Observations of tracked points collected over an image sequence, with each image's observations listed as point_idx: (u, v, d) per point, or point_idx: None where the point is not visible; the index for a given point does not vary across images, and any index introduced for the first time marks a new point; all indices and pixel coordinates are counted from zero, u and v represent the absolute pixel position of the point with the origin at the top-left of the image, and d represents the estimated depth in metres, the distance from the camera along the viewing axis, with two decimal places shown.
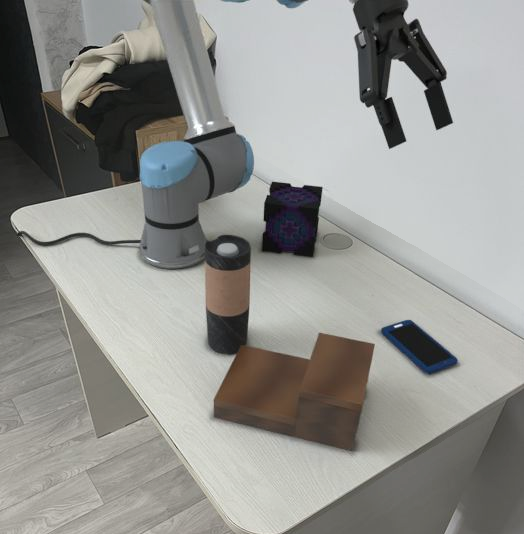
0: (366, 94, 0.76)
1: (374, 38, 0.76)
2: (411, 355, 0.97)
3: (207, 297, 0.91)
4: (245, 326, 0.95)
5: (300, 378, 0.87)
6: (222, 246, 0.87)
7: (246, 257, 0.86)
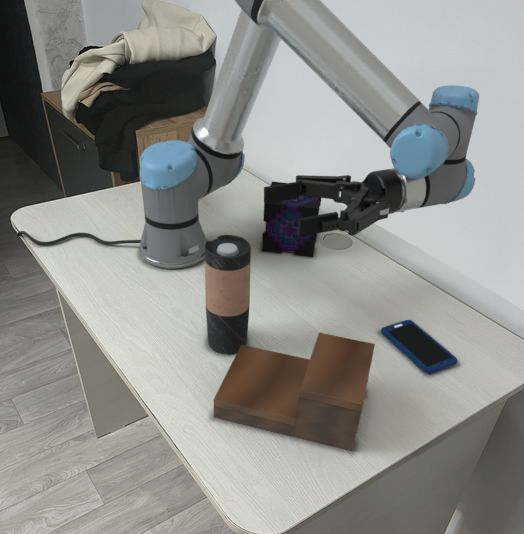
0: (355, 228, 0.83)
1: None
2: (411, 355, 0.97)
3: (207, 297, 0.91)
4: (245, 326, 0.95)
5: (300, 378, 0.87)
6: (222, 246, 0.87)
7: (246, 257, 0.86)
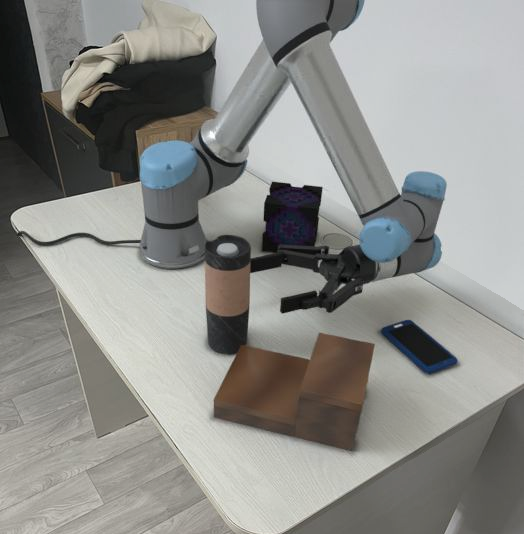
0: (332, 307, 0.91)
1: None
2: (411, 355, 0.97)
3: (207, 297, 0.91)
4: (245, 326, 0.95)
5: (300, 378, 0.87)
6: (222, 246, 0.87)
7: (246, 257, 0.86)
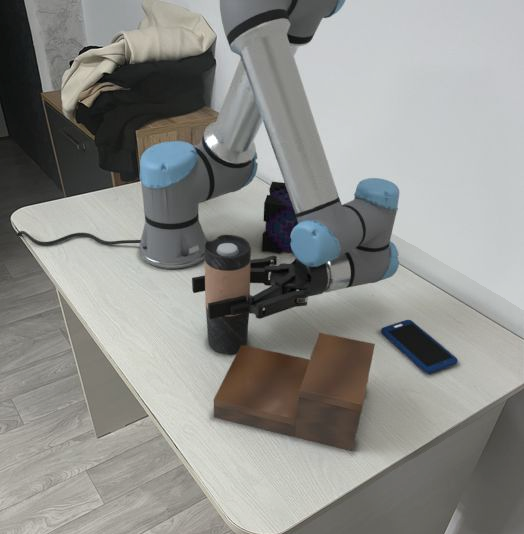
0: (260, 312, 0.88)
1: None
2: (411, 355, 0.97)
3: (207, 297, 0.91)
4: (245, 326, 0.95)
5: (300, 378, 0.87)
6: (222, 246, 0.87)
7: (246, 257, 0.86)
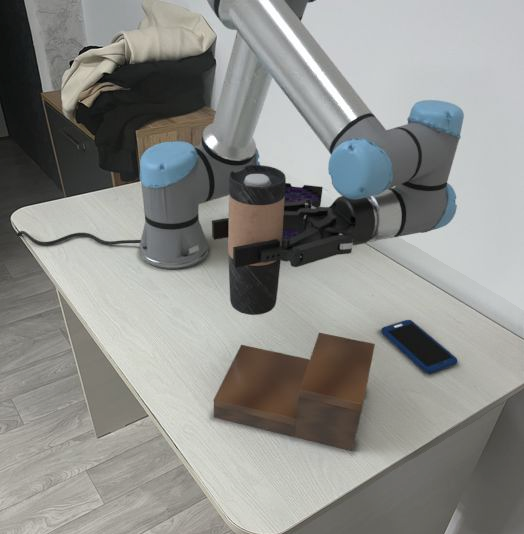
0: (297, 259, 0.72)
1: None
2: (411, 355, 0.97)
3: (231, 242, 0.74)
4: (276, 280, 0.79)
5: (300, 378, 0.87)
6: (250, 176, 0.71)
7: (281, 189, 0.70)
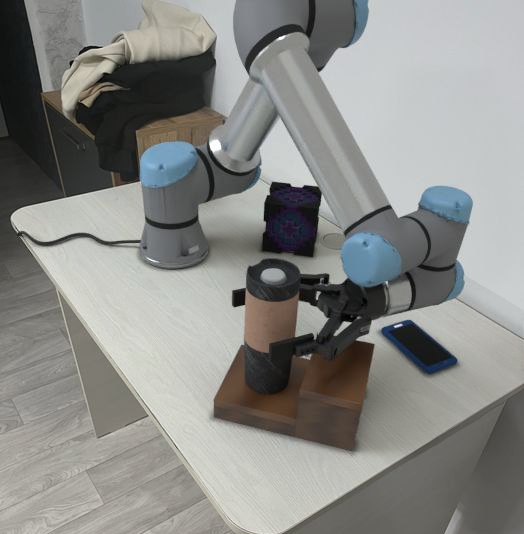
0: (333, 354, 0.74)
1: None
2: (411, 355, 0.97)
3: (248, 330, 0.78)
4: (289, 362, 0.82)
5: (300, 378, 0.87)
6: (267, 272, 0.74)
7: (296, 286, 0.73)
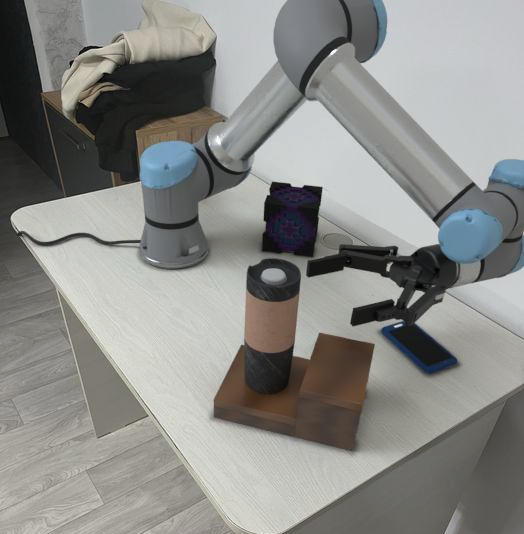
0: (413, 319, 0.76)
1: None
2: (411, 355, 0.97)
3: (248, 330, 0.78)
4: (289, 362, 0.82)
5: (300, 378, 0.87)
6: (267, 272, 0.74)
7: (297, 286, 0.73)
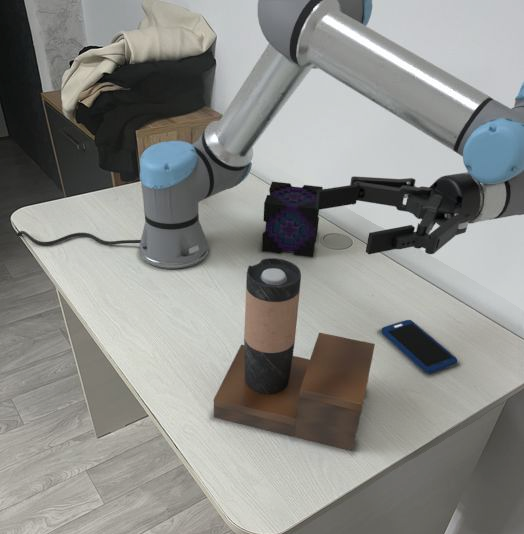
0: (435, 245, 0.69)
1: None
2: (411, 355, 0.97)
3: (248, 330, 0.78)
4: (289, 362, 0.82)
5: (300, 378, 0.87)
6: (267, 272, 0.74)
7: (297, 286, 0.73)
